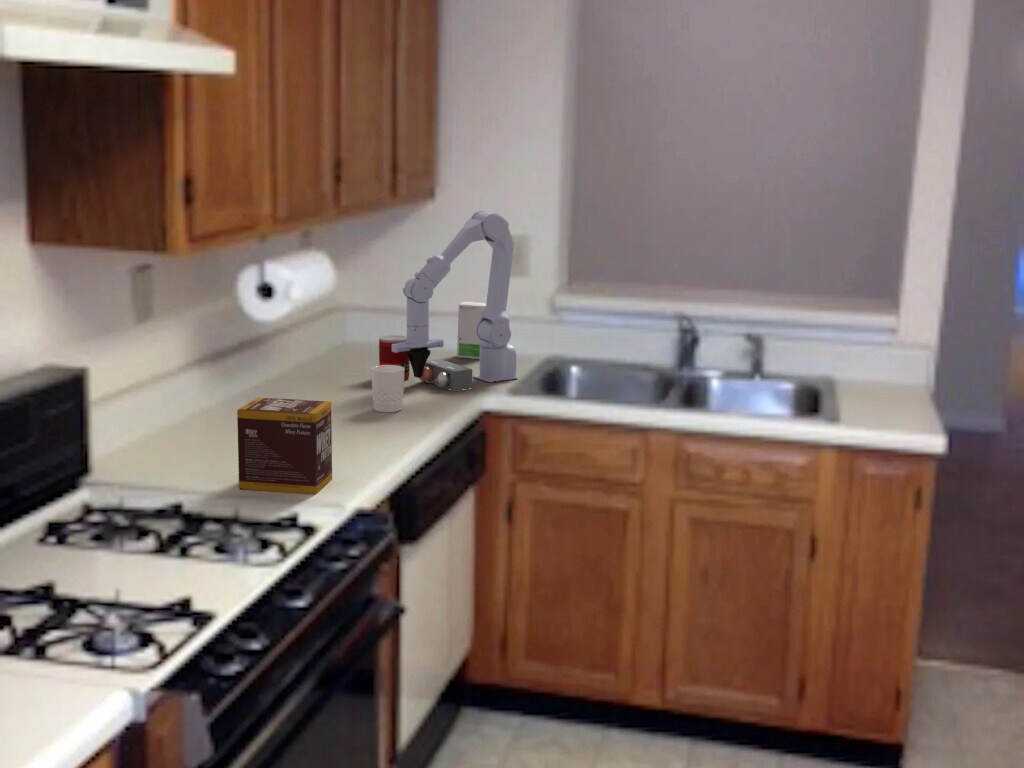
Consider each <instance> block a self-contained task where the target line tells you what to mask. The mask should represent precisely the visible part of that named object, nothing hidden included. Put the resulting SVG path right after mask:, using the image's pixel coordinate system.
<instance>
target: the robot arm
mask: <svg viewBox="0 0 1024 768" xmlns="http://www.w3.org/2000/svg"><path fill="white" fill-rule="evenodd" d="M509 225H510V224H509V222H508V221H507V220H506V219H505V218H504V217H503V216H502V215H501V214H499V213H496V212H495V213H493V212H488V211H485V210H478V211H476V212H474V213H473V214H472V216H471V217H470V218H468V219H467V220H466V221H465V223H464V224H463V227H461V229H460V230H459V231H458V233H457V234H456V235H455V237H454V238H453V239H452V240H451V241H450V242H449V244H448V245H447V246H446V247H445V249H443V251H442V252H441V254H439V255H437V254H435V255H433V256H432V257H428V258H427V259H426V264H424V266H423V267H421V269H420V270H419V271H418V272H417V271H416V272H415V273H414V277H412V278H409V279H408V280H407V281H406V282H405V284H404V287H403V288H402V293H403V295H404V297H405V298H406V337H407V341H405V342H401V343H396V344H392V352H395V353H397V352H400V351H405V353H406V355H407V357H408V358H409V364H410V366H411V369H412V372H413V377H414V378H418V379H419V378H421V377H422V373H423V369H424V366H425V363H426V361H428V359H429V357H430V355H431V350H430V349H434V348H444V347H445V346H444V345H445V344H444V342H445V341H444V339H440V338H434V339H433V338H431V339H430V299H432V297H433V294H434V289H435V288H437V286H438V285H439V284H440V283H441V282H442V281H443V279H444V278H446V277H447V275H448V274H449V272H451V264H452V263H453V262H454V260H455V259H457V258H458V257H459V256H460V254H462V253H463V251H465V249H467V248H468V247H469V246H470V245H471V244H472V243H474V242H479V241H486V243H487V245H489V246H490V247H491V249H492V254H491V262H490V269H489V270H490V272H489V277H488V278H489V279H488V286H487V294H486V302H485V303H486V308H485V310H484V311H483V312H482V314H481V319H480V321H479V323H478V324H477V327H476V334H477V336H478V338H479V339H480V359H479V369H478V370H479V372H478V373H479V374H475V375H473V374H472V378H474V379H477V380H481V381H484V382H486V381H487V383H495V382H494V381H496V382H502V380H503V381H509V380H510V381H511V380H516V379H518V378H519V377H518V376H517V352H516V349H515V347H514V345H512V344H510V343H509V342H510V340H511V337H512V331H511V328H510V317H509V315H508V313H507V305H508V298H509V297H508V296H509V287H510V281H511V280H510V279H511V273H512V265H513V257H514V248H515V242H514V240H513V237H512V234H511V231H510V229H509Z"/></svg>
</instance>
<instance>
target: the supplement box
mask: <svg viewBox="0 0 1024 768" xmlns="http://www.w3.org/2000/svg"><path fill="white" fill-rule="evenodd" d="M236 411H237V413H236V414H237V418H236V419H237V453H238V454H237V455H238V457H237V459H238V489H239V488H243V489H242V490H247V489H253V490H252V491H261V490H262V491H261V492H264V491H265V492H274V493H275V492H276V493H277V492H278V493H292V494H303V495H317V494H318V493H319V492H320V491H321V490H322V489H323V488H324V487H326V486H327V485H328V484H329V483H330V482H331V481H332V480H333V447H332V445H333V441H332V440H333V439H332V436H333V435H332V434H333V433H332V401H331V400H330V401H328V400H307V399H306V400H305V399H291V398H271V397H257V398H255V399H253V400H252V401H250V402H248V403H246V404H244V405H243V406H241V407H239V408H238V409H236Z"/></svg>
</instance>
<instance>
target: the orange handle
mask: <svg viewBox="0 0 1024 768" xmlns="http://www.w3.org/2000/svg"><path fill="white" fill-rule="evenodd" d="M433 376H434V373H433V369H432V368H431V367H430V366H428V367H424V369H423V373H422V377H421V378H418V379H419V380H420V381H421V382H424V381H428V380H432V379H433Z"/></svg>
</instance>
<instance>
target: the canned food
mask: <svg viewBox="0 0 1024 768" xmlns="http://www.w3.org/2000/svg"><path fill="white" fill-rule="evenodd" d="M405 341H407V335H392V334H389V335H382V336H380V337H379V339H378V350H379V351H378V360H379V361H378V362H379V363H378V366H380V365H396V366H402V367H404V368H405V372H404V380H405V381H407V380H409V379H410V361H409V358H408V357H407V355H406V353H405V351H400V352H397V353H395V352H392V344H396V343H401V342H405Z"/></svg>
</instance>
